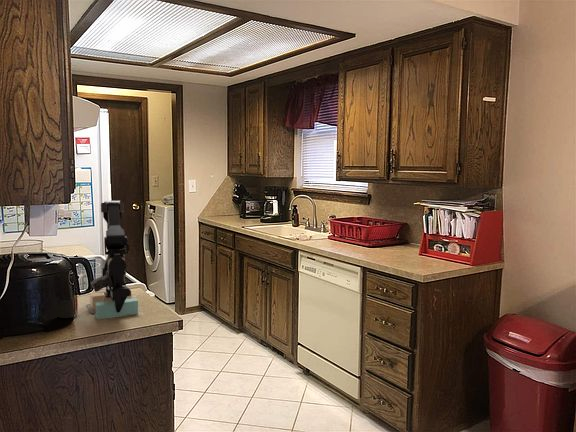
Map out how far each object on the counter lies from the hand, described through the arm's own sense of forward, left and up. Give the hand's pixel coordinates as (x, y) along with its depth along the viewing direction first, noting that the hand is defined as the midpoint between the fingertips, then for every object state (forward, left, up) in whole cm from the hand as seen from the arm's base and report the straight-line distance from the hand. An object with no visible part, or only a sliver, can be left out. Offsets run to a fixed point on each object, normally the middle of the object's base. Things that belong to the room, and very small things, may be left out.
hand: (117, 310), depth 176 cm
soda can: (-6, -16, -2) cm, 17 cm away
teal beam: (0, 0, -2) cm, 2 cm away
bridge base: (-11, 0, -2) cm, 11 cm away
